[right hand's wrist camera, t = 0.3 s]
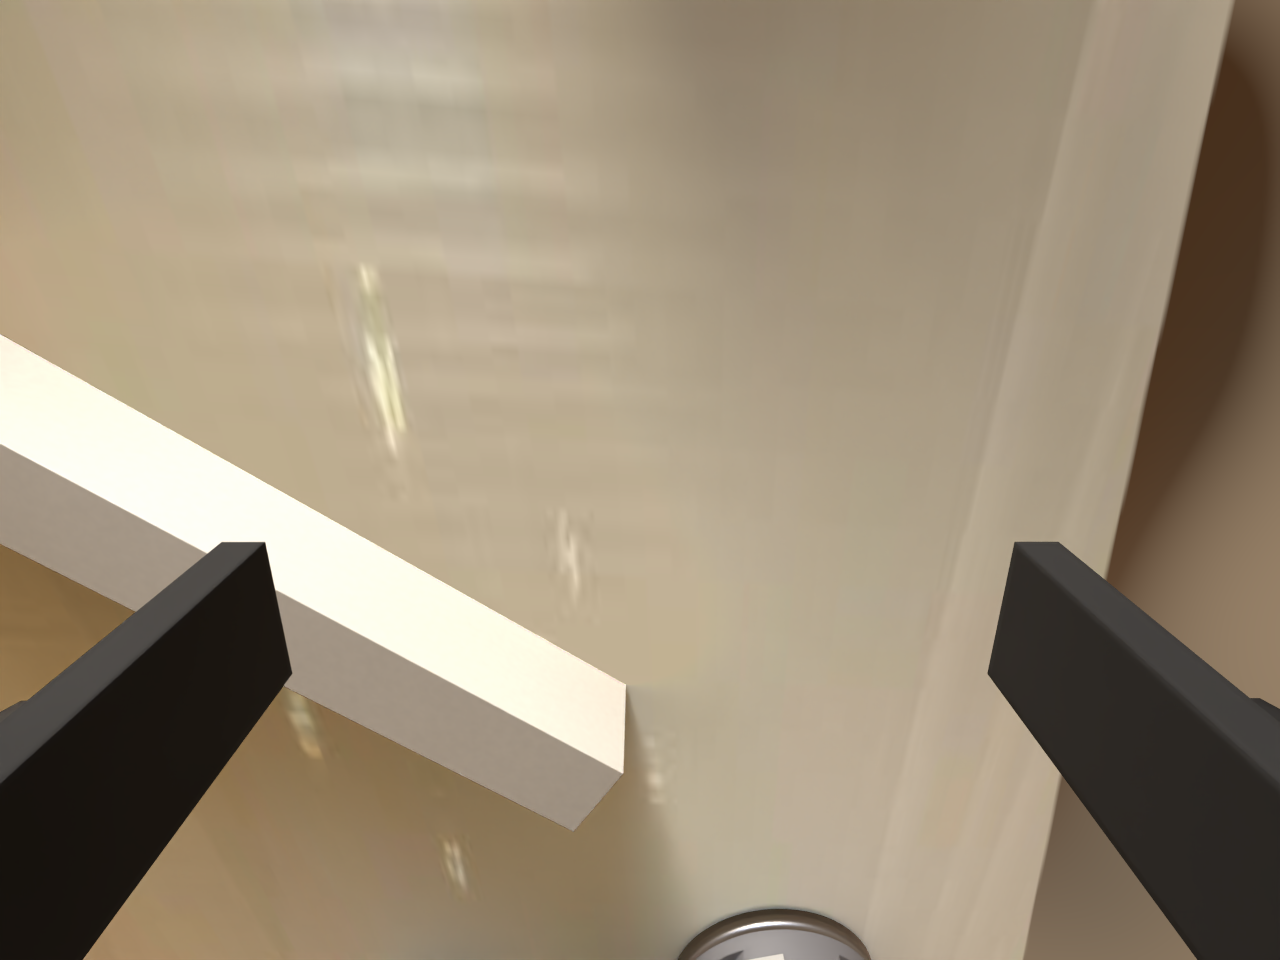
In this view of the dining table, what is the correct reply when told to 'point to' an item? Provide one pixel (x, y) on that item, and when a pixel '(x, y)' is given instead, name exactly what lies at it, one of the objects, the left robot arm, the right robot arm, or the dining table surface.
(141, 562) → the beam
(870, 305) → the dining table surface
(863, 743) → the dining table surface
